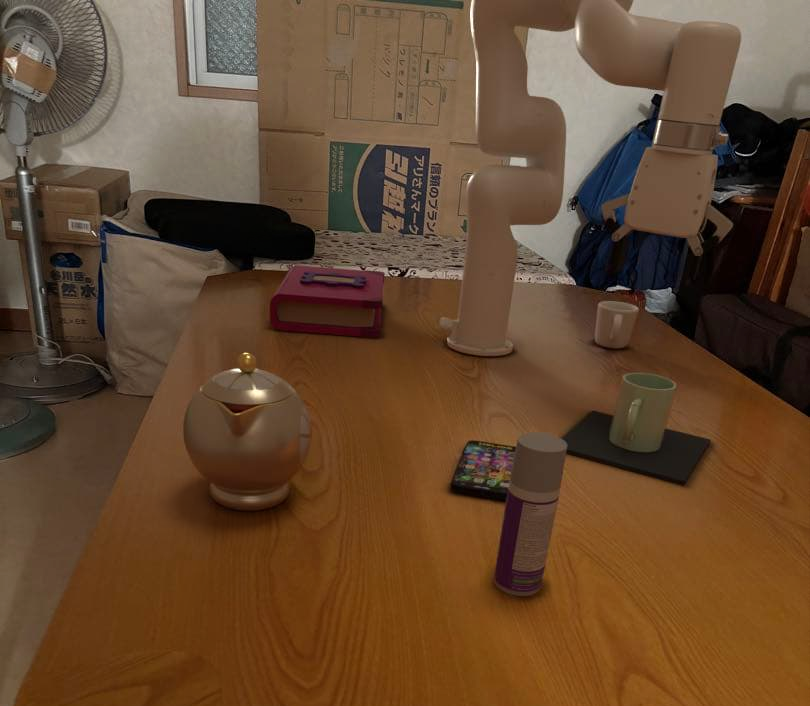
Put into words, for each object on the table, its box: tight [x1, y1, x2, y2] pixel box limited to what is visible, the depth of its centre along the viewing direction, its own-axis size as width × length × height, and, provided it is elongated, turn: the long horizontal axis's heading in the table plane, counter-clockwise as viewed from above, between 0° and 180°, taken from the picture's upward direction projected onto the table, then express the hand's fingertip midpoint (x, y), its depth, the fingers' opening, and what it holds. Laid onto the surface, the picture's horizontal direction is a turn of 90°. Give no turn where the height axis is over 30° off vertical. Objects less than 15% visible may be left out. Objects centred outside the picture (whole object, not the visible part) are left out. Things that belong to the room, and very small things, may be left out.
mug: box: [609, 372, 678, 452], centre depth 107 cm, size 10×7×9 cm
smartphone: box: [450, 439, 516, 501], centre depth 98 cm, size 8×1×15 cm
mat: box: [561, 410, 712, 486], centre depth 110 cm, size 18×18×1 cm
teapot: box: [182, 352, 313, 512], centre depth 85 cm, size 18×14×16 cm
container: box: [493, 431, 567, 597], centre depth 72 cm, size 5×5×15 cm
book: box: [269, 264, 386, 339], centre depth 158 cm, size 21×28×8 cm
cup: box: [594, 300, 640, 350], centre depth 154 cm, size 11×8×8 cm
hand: (650, 277), depth 107 cm, fingers open, 9 cm apart
